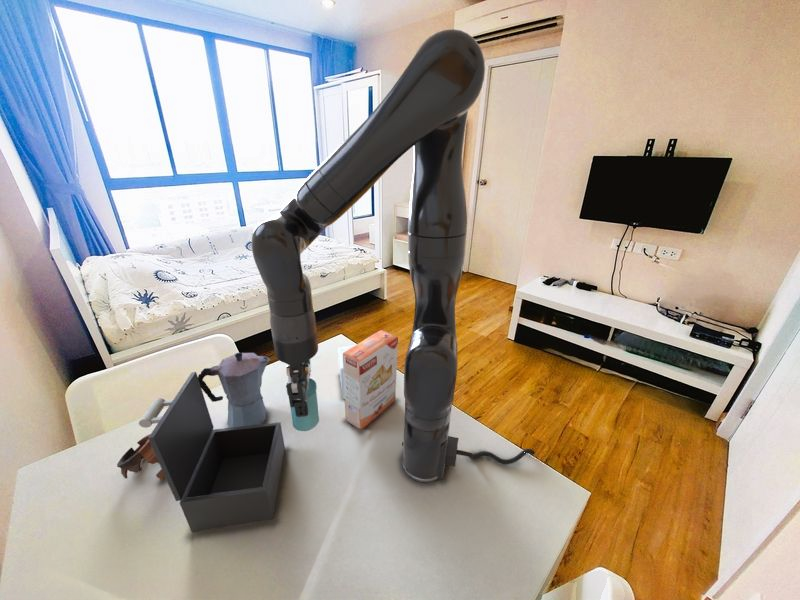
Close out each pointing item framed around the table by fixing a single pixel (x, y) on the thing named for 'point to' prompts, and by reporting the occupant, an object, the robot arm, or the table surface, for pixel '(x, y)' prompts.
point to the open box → (235, 477)
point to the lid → (179, 433)
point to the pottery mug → (138, 458)
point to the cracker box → (370, 378)
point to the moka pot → (240, 387)
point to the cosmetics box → (340, 359)
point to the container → (313, 415)
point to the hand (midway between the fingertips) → (303, 403)
